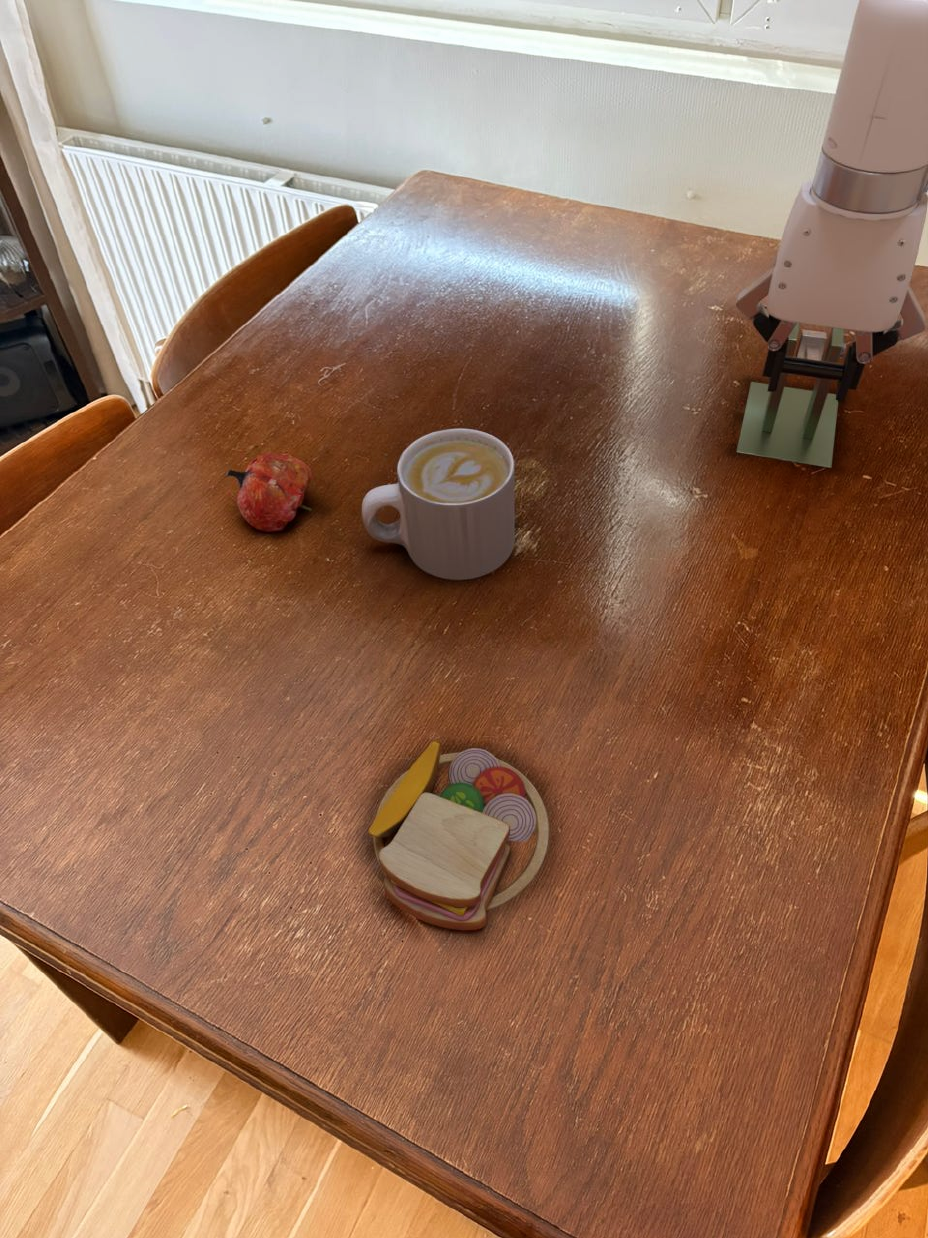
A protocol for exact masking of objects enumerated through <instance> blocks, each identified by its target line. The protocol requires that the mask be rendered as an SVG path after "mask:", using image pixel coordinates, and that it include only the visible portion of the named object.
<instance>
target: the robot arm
mask: <svg viewBox="0 0 928 1238" xmlns="http://www.w3.org/2000/svg"><path fill="white" fill-rule="evenodd" d="M824 134H825V135H824V138H823V142H822V144H821V148H820V152H819V156H818V161H817V164H816V169H815V171H814V172H815V173H814V177H811V178H809V179H807V180H805V181H803V182H802V184H801V186H800V188H799V190H798V192H797V194H796V197H795V199H794V200H793V204H792V207H791V209H790V211H789V214H788V217H787V220H786V223H785V226H784V229H783V233H782V235H781V239H780V242H779V246H778V249H777V252H776V256H775V260H774V263H773V266H772V267H771V268H770V269H768V270H767V271H766V272H764V274H762V275H761V276H759V277H758V278H756V280H754V281H753V282H752V283H751V284H749V285H748V286H747V287H745V288H744V289H743V290H742V291H740V293H739V294H738V295H737V298H736V302H735V303H736V304H735V305H736V308H737V309H738V311H740V313H741V314H743V315H744V316H745V318H746V319H747V320H749V321H751V323H752V325H753V327H754V328H755V330H756V331H757V332H758V333H759V335H760V336H761V337H762V338H763V340H764V341H765V342H766V347H767V349H768V350H767V354H766V358H765V363H764V367H763V371H762V374H761V375H762V377H764V378H769V381H768V384H769V385H768V392H774V391H776V389H777V386H778V382H779V378H780V375H781V371H782V367H783V363H784V360H785V356H786V351H787V345H788V339H789V337H788V336H789V335H790V333H791V332H792V330H793V328H794V327H795V325H796V324H797V323H800V325H801V324H802V325H809V326H817V327H823V328H830V329H832V328H838V329H845V330H846V331H855V341H853V342H852V343H851V345H849V346H848V348H847V351H846V353H845V354H846V355H845V356H844V360H843V363H842V364H845V370H844V374H843V378H842V380H841V381H836V390H835V394H836V400H838V403H840V404H844V403H845V401H846V398H847V396H848V393H849V390H853V391H857V389H858V386H859V383H860V380H861V378H862V375H863V372H864V369H865V365H866V364H868V363H870V362H871V361H872V360H873V357H875V356H877V355H879V354H881V353H883V352H884V351H886V350H888V349H891V348H892V347H894V346H895V345H897V344H898V343H899V342H900V341H904V340H908V339H909V338H912V337H914V336H916V335H919V334H921V333H922V332H924V331H926V328H927V317H926V314H925V313H924V311H923V308H922V307H921V305H920V302H919V301H918V299H917V297H916V295H915V293H914V292H913V290H912V288H911V285H910V283H911V280H912V277H913V273H914V269H915V266H916V263H917V258H918V255H919V250H920V244H921V240H922V237H923V232H924V227H925V223H926V220H927V219H926V218H927V213H928V194H927V193H928V0H858V4H857V7H856V11H855V13H854V18H853V22H852V26H851V30H850V34H849V38H848V42H847V46H846V50H845V54H844V58H843V62H842V66H841V70H840V74H839V78H838V82H837V86H836V90H835V93H834V98H833V102H832V106H831V109H830V113H829V119H828V122H827V125H826V130H825V133H824ZM766 297H767V300H766V306H764V305H763V303H762V302H761V301H763V299H765V298H766ZM899 316H901V318H900V319H899Z"/></svg>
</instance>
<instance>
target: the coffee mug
mask: <svg viewBox="0 0 928 1238" xmlns="http://www.w3.org/2000/svg"><path fill="white" fill-rule="evenodd" d="M396 473H397V482H396V483H392V484H385V485H380V486H376V487H374V488H373V489H371V490H369V491H368V492H367V493H366V494H365V495H364V497H363V499H362V503H361V518H362V524H363V526H364V529H365V530H366V531H367V533H368V535H369V536H370V537H372V538H373V539H374V540H376V541H378V542H382V543H388V544H397V545H401V546H402V547H403V548H405V549H406V551H407V554H408V556H409V557H410V559H411V560H412V561H413V563H414V564H415V565H416V566H417V567H418V568H419V569H421V570H422V571H423V572H425V573H426V574H429V575H432V576H433V577H436V578H441V579H444V580H452V581H453V580H455V581H461V580H462V581H463V580H471V579H476V578H477V579H478V578H480V577H483V576H485V575H488V574H490V573H492V572H494V571H496V570H497V569H499V568H500V567H502V565H504V563H505V562H507V561H508V559H509V557H510V556H511V554H512V552H513V550H514V547H515V539H516V534H515V533H516V528H515V527H516V524H515V523H516V521H515V519H516V518H515V517H516V515H515V514H516V513H515V509H516V507H515V499H516V498H515V495H516V493H515V491H516V490H515V481H516V480H515V459H514V457H513V454H512V452H511V450H510V448H509V447H508V446H507V445H506V444H505V443H504V442H503V441H502V440H500V439H499V438H497V437H495V436H494V435H492V434H489V433H487V432H484V431H481V430H477V429H471V428H461V427H459V428H447V429H441V430H437V431H433V432H430V433H428V434H425V435H423V436H421V437H420V438H418V439H416V440H415V441H413V442H411V444H409V445H408V446H407V447H406V449H405V450H403V452H402V454H401V455H400V457H399V460H398V462H397V467H396ZM384 507H385V508H386V507H393V508H395V509H396V510H397V511H398V512H399V518H397V520H396V521H395V522H392V523H384V522H382V521H380V520H379V518H378V516H377V514H378V512H379V511H380V509H383V508H384Z"/></svg>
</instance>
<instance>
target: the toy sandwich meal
mask: <svg viewBox="0 0 928 1238" xmlns="http://www.w3.org/2000/svg"><path fill="white" fill-rule="evenodd" d="M441 748H442V747H441V744H440V743H439V742H437V741H434V740H433V741H432V742H430V743H429V745H428V746H427V747H426V748H425V750H423V752H422V753H421V755H420V756H419V757H418V758H417V759H416V760H415V761H414V762H413V763H412V765H411V766H410V768H409V769H408V770H406V771H405V772H404V773H403V774H401V775H400V776H399V777H398V778H397V779H396V780H395V781H394V782H393V784H392V785H390V787H389V788H388V789H387V791H386V792H385V794H384V796H383V797H382V799H381V801H380V803H379V805H378V808H377V811H376V813H375V818H374V819H373V821H372V823H371V825H370V827H369V828H368V834H369V835H370V836H372V837H373V838H372V839H373V841H372V842H373V849H374V853H375V857H376V860H377V863H378V864H379V867H380V869H381V872H382V873H383V875H384V878H383V882H382V883H383V891H384V893H385V896H386V898H388V899H389V900H390V901H391V903H392V904H394V905H395V906H396V907H397V908H399V909H400V910H402V911H403V912H404V913H406V914H408V915H409V916H412V918H414V919H415V918H416V919H418V920H420V921H423V922H425V923H428V924H430V925H434V926H437V927H440V928H444V929H451V930H457V931H458V930H459V931H477V930H481V929H483V928H484V927H485V926H486V925H487V911H489V910H492V909H495V908H497V907H499V906H501V905H504V904H505V903H507V902H509V901H510V900H511V899H514V898H515V897H516V896H517V895H519V894H520V893H521V892H522V891H524V890H525V888H526V887H527V886H528V885H529V884H530V883H531V882H532V881H533V879H535V877H536V875H537V874H538V873H539V870H540V868H541V867H542V864H543V862H544V860H545V857H546V854H547V851H548V846H549V839H550V823H549V818H548V813H547V810H546V806H545V803H544V801H543V799H542V797H541V795H540V794H539V792H538V790H537V789H536V787H535V786H534V784H532V782H531V781H530V780H529V779H528V778H527V777H526V775H524V774H523V773H522V772H521V771H519V770H518V769H517V768H515V767H514V766H512V765H510V764H509V763H507V762H505V761H503V760H501V759H498V758H496V757H495V756H494V755H493V754H492V753H491V752H490V751H488V750H486V749H482V748H477V747H471V748H468V749H465V750H463V751H460V752H451V753H450V752H449V753H444V754H441ZM447 764H450V765H449V768H448V780H449V784H450V785H448V786H447V787H445V788H444V789H443V790H442V792H440V794H439V795H437V794H434V793H433V791H434V789H435V787H436V783H437V778H438V772H439V766H443V765H447ZM526 797H527V799H526ZM535 831H537V832H536V842H535V847H534V851H533V853H532V856H531V858H530V860H529V862H528V864H527V866H526V867H525V869H524V870H523V872H522V873H521V874H520V875H519V877H518V878H516V879H515V881H513V882H512V883H511V884H510V885H508V886H507V887H506V888H504V889H502V890H501V891H499V892H497V890H498V887H499V884H500V883H501V880H502V878H503V875H504V874H505V873H504V872H505V870H506V868H507V866H508V863H509V860H510V858H511V854H512V847H511V846H510V845H509V844H508V843H507V842H508V841H511V842H517V843H525V842H527V841H528V840H529V839H530V838H531V837H532V836H533V835H534V833H535ZM396 832H397V833H396ZM395 833H396V834H395ZM394 834H395V835H394ZM392 835H394V837H393V839H392V840H391V841H390V843H388V844H387V845H386V840H385V838H389V837H391V836H392ZM496 892H497V893H496Z"/></svg>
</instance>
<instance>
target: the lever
mask: <svg viewBox="0 0 928 1238" xmlns="http://www.w3.org/2000/svg"><path fill="white" fill-rule="evenodd" d="M827 342H828V335H827V332H826V331H818V330H811V329H801V333H800V337H799V340H798V345H797V347H796V353H795V356H793V357H790V356H785V360H784V363H783V367H782V371H781V373H785V374H788V375H793V376H798V377H799V376H800V377H806V378H812V379H813V378H815V379H817V378H820V379H827V380H832V381H834V382H835V381H836V382H838V381H841V380H842V378H843V374H844V370H845V364H843V363H839V362H838V363H833V362H826V361H822V359H823V356H824V353H825V349H826V346H827Z"/></svg>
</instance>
